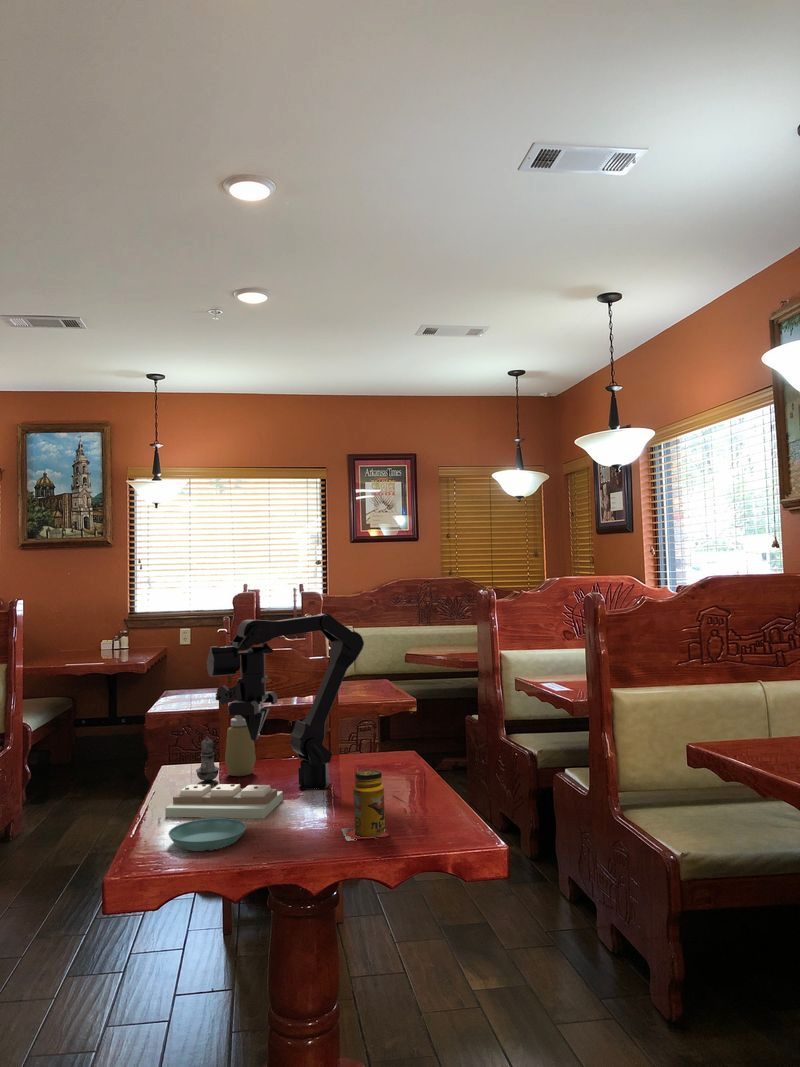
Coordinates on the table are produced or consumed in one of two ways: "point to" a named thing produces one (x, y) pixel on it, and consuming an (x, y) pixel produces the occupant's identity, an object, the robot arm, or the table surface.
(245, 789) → the one-pip key
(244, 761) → the squeeze bottle
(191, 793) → the three-pip key
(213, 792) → the two-pip key
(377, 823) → the condiment
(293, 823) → the table surface
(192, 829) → the saucer
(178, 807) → the board
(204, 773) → the grey tall tapered piece
